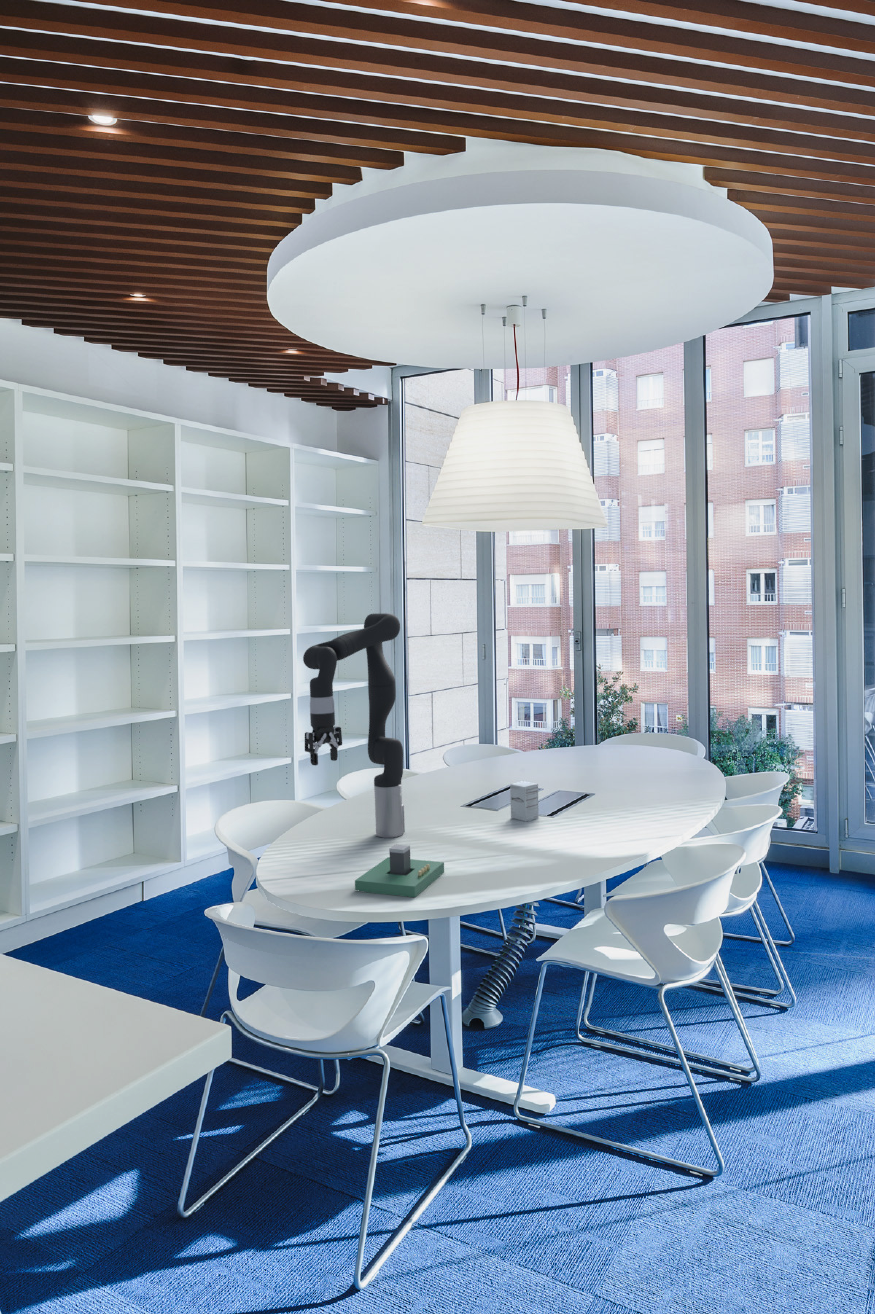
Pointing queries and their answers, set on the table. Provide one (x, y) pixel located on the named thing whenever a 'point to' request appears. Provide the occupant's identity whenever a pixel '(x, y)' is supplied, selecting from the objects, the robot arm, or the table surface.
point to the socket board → (400, 878)
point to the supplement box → (524, 800)
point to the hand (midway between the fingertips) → (324, 762)
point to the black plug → (400, 859)
